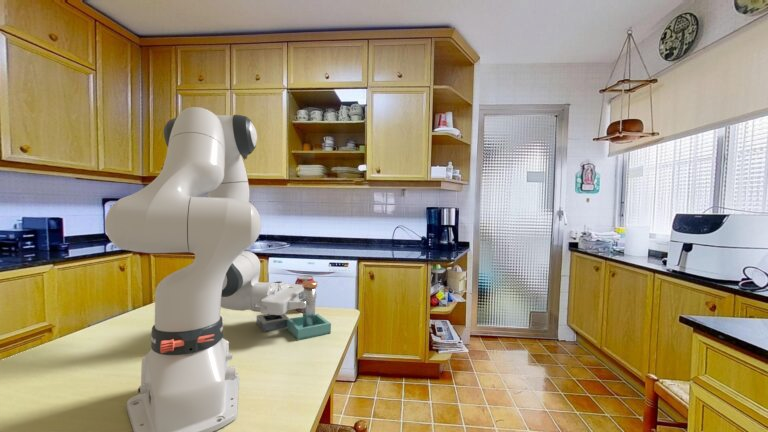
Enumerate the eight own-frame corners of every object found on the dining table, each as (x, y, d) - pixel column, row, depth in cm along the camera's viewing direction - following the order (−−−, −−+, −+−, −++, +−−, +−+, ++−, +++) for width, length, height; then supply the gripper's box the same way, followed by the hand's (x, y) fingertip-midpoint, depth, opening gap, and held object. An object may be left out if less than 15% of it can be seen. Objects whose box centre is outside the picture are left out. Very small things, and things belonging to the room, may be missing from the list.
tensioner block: (289, 326, 98) (289, 319, 98) (262, 331, 94) (262, 323, 94) (281, 319, 105) (281, 311, 105) (256, 323, 100) (256, 315, 100)
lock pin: (318, 330, 95) (319, 283, 95) (304, 332, 92) (305, 284, 92) (312, 325, 99) (314, 280, 98) (299, 328, 96) (300, 281, 96)
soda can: (290, 311, 113) (291, 278, 113) (301, 305, 120) (301, 274, 120) (307, 313, 111) (308, 280, 111) (317, 307, 118) (318, 276, 118)
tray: (330, 333, 94) (330, 323, 94) (298, 340, 89) (298, 329, 89) (317, 322, 102) (317, 313, 102) (287, 328, 97) (287, 318, 97)
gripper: (250, 296, 86) (298, 299, 85) (281, 279, 107) (321, 282, 105) (249, 319, 86) (298, 322, 85) (281, 298, 107) (320, 300, 105)
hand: (311, 300), depth 95 cm, fingers open, 8 cm apart
